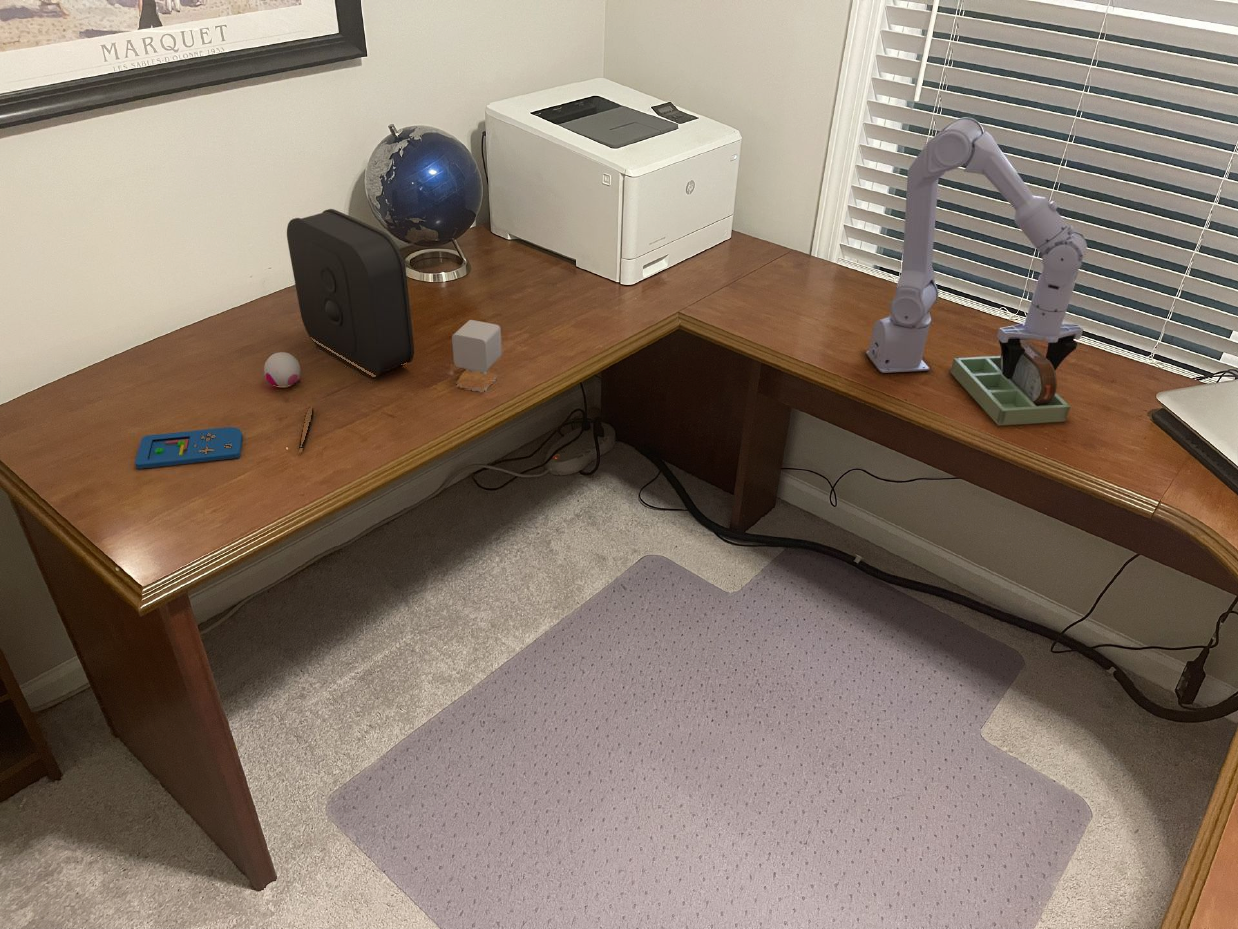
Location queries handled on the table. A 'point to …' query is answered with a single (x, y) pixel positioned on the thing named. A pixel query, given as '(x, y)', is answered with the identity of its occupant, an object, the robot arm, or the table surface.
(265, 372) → the stress ball
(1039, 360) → the tin
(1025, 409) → the organizer
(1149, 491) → the table surface
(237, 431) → the handheld gaming device
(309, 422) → the fountain pen
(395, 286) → the speaker
